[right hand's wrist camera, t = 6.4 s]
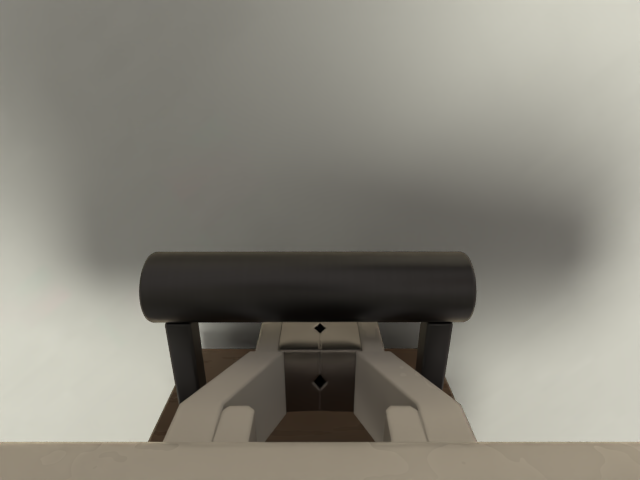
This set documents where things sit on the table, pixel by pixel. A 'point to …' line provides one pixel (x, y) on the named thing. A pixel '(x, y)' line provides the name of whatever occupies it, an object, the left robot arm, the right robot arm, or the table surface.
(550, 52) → the table surface
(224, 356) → the drawer
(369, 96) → the table surface
